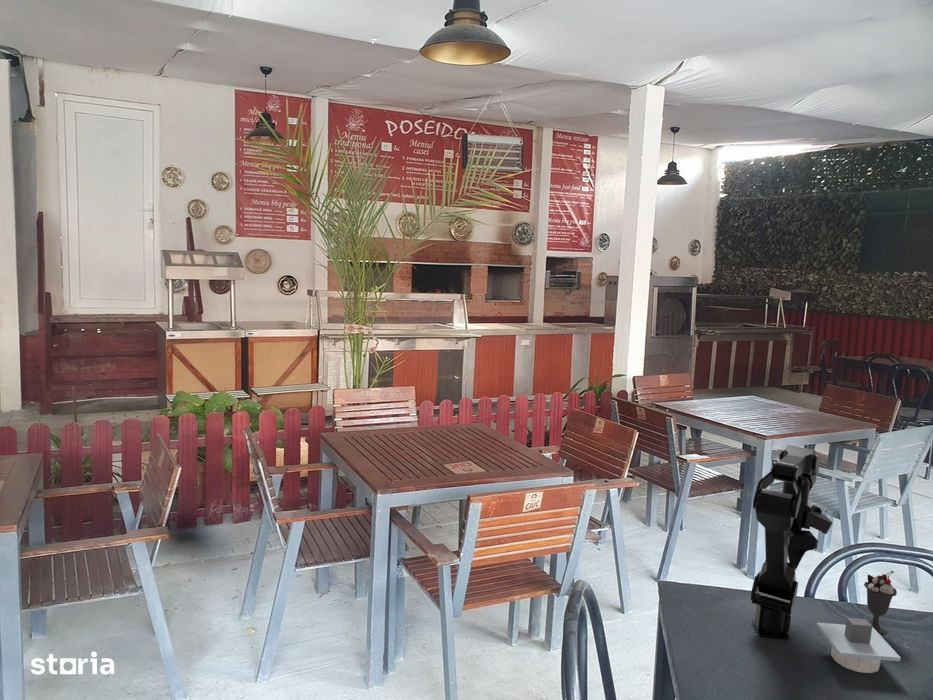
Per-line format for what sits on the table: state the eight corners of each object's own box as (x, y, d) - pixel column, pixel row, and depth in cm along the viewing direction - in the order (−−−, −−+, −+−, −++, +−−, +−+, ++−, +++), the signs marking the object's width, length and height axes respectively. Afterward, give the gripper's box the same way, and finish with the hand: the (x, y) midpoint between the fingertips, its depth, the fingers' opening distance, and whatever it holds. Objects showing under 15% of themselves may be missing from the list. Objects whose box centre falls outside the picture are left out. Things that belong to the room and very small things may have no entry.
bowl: (841, 670, 152) (843, 652, 151) (825, 646, 161) (827, 629, 160) (886, 675, 151) (889, 657, 150) (868, 651, 160) (871, 634, 159)
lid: (839, 656, 150) (842, 634, 149) (816, 625, 162) (818, 605, 161) (900, 661, 149) (903, 639, 148) (872, 630, 161) (875, 610, 160)
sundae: (895, 638, 166) (904, 576, 163) (863, 634, 167) (872, 572, 165) (885, 624, 172) (894, 563, 170) (854, 619, 173) (862, 560, 171)
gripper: (845, 516, 163) (837, 582, 166) (816, 488, 182) (809, 548, 184) (793, 511, 164) (785, 577, 167) (770, 485, 183) (763, 544, 185)
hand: (787, 561), depth 176 cm, fingers open, 9 cm apart
